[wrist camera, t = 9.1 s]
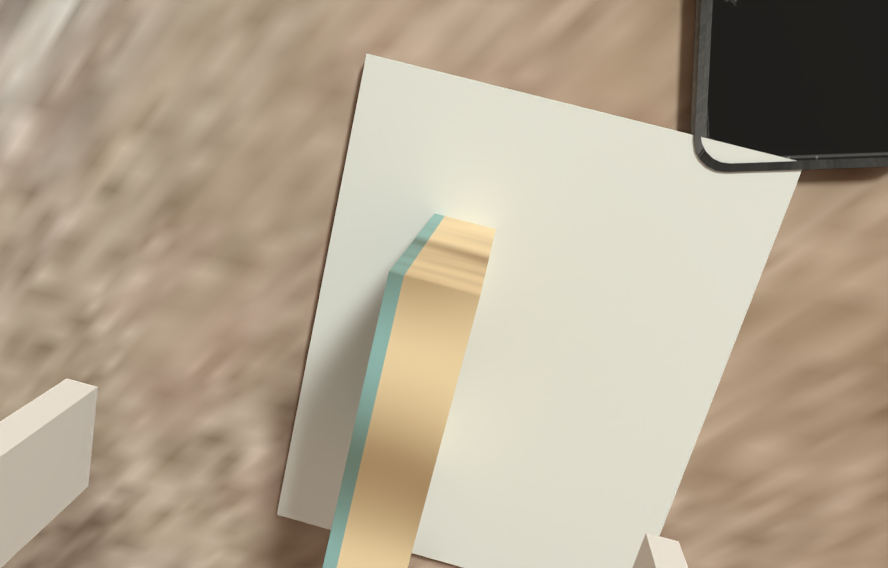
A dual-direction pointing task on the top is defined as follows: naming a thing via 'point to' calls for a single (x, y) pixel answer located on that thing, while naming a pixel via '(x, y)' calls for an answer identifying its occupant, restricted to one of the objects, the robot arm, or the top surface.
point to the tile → (408, 393)
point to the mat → (539, 312)
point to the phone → (792, 82)
